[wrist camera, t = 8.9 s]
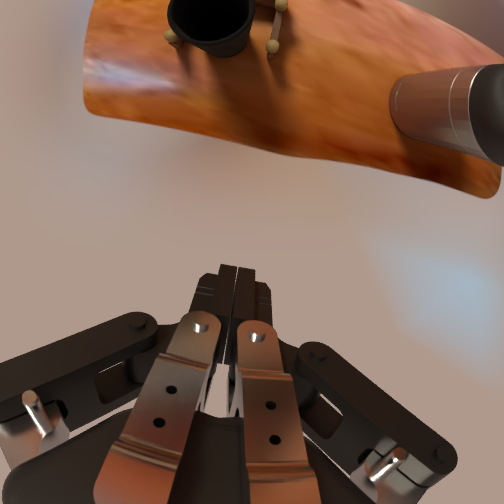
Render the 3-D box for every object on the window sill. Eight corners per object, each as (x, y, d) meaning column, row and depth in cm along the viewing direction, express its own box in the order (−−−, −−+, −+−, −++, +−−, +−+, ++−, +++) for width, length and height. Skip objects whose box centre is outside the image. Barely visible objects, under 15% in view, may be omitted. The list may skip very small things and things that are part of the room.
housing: (287, 3, 28) (290, -9, 24) (275, 59, 31) (277, 52, 27) (186, -7, 27) (177, -20, 23) (172, 48, 31) (162, 40, 27)
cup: (261, 15, 29) (262, -23, 18) (251, 69, 32) (247, 49, 21) (199, 9, 28) (176, -27, 18) (189, 62, 32) (159, 43, 21)
